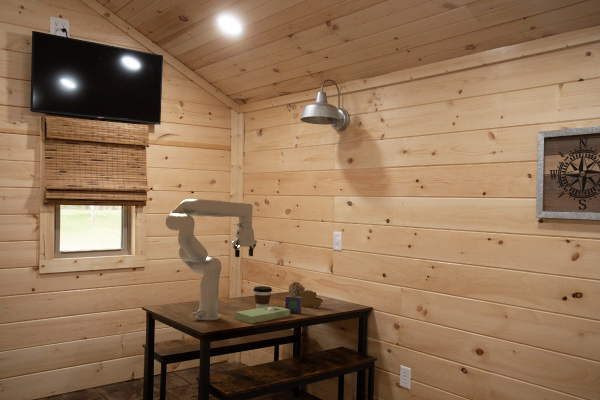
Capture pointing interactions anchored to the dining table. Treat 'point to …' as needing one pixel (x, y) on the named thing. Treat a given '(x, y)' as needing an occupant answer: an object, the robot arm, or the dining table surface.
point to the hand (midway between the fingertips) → (244, 256)
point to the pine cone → (296, 288)
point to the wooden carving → (310, 299)
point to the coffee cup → (262, 296)
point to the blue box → (293, 304)
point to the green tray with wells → (261, 314)
